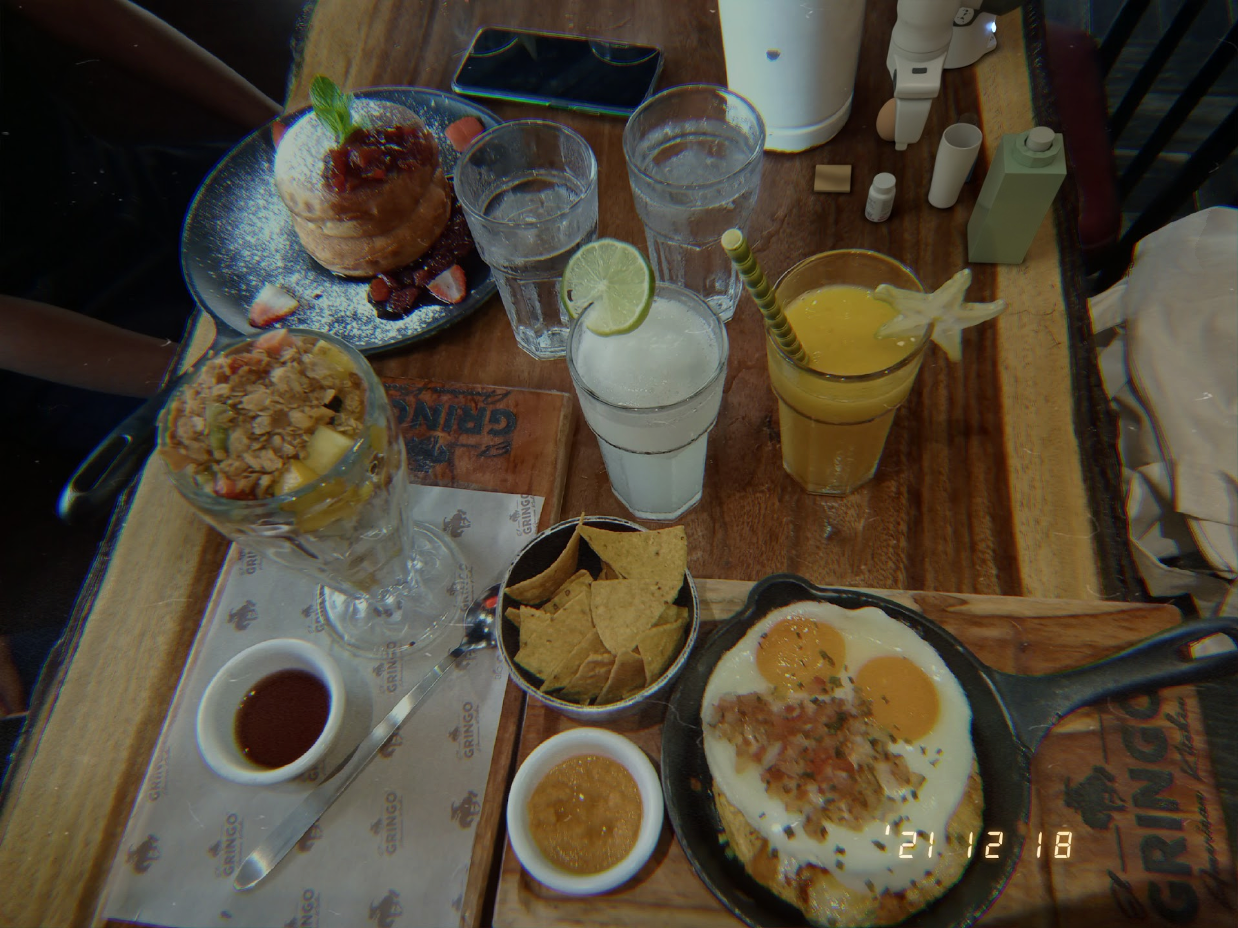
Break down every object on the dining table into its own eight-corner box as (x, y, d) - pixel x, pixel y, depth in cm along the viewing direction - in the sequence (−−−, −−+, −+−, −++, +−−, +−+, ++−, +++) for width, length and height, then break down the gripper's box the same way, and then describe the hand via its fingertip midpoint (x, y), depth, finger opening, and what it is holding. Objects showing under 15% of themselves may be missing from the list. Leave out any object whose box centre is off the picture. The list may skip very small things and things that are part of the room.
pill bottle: (891, 205, 144) (899, 172, 137) (888, 224, 142) (896, 190, 135) (866, 203, 145) (873, 170, 138) (863, 221, 143) (870, 188, 136)
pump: (1024, 137, 118) (1029, 126, 116) (1049, 137, 117) (1053, 126, 115) (1025, 153, 116) (1030, 142, 114) (1050, 153, 116) (1055, 142, 114)
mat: (815, 167, 152) (816, 164, 151) (850, 167, 150) (851, 165, 150) (813, 192, 149) (814, 189, 148) (849, 192, 147) (849, 190, 147)
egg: (891, 154, 150) (900, 116, 142) (866, 139, 153) (873, 101, 145) (913, 137, 151) (923, 98, 143) (888, 122, 154) (896, 83, 146)
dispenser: (967, 225, 139) (1006, 123, 119) (1018, 226, 138) (1067, 123, 117) (968, 262, 136) (1009, 163, 115) (1021, 264, 134) (1072, 163, 113)
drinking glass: (916, 194, 144) (934, 131, 131) (947, 182, 145) (969, 117, 131) (935, 217, 141) (956, 154, 128) (967, 204, 142) (991, 140, 128)
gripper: (897, 12, 119) (882, 88, 132) (896, 96, 111) (880, 169, 123) (938, 10, 118) (919, 87, 130) (940, 95, 109) (920, 169, 122)
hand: (900, 128), depth 127 cm, fingers open, 8 cm apart
